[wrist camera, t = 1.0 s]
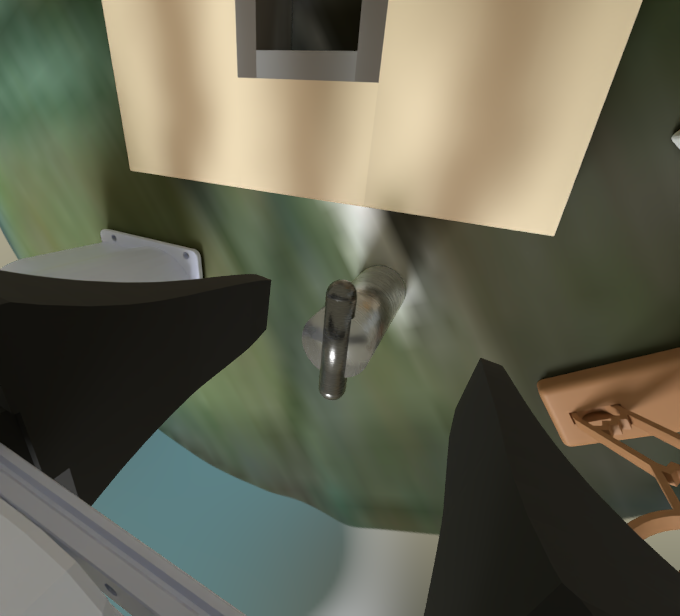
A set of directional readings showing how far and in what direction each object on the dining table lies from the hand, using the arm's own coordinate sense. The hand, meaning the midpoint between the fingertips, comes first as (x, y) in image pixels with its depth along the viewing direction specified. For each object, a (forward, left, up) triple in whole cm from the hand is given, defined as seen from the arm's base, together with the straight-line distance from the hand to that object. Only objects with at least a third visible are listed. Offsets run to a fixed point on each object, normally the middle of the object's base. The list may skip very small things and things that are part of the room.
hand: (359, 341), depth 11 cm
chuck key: (-1, -2, -9) cm, 9 cm away
